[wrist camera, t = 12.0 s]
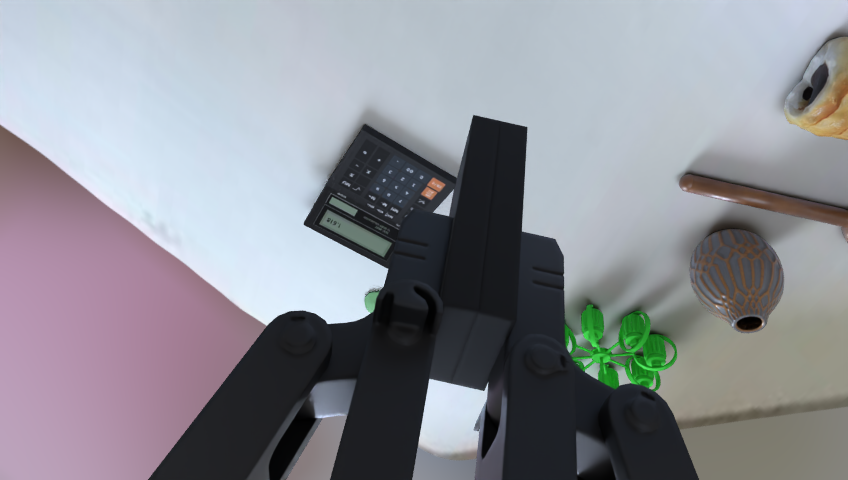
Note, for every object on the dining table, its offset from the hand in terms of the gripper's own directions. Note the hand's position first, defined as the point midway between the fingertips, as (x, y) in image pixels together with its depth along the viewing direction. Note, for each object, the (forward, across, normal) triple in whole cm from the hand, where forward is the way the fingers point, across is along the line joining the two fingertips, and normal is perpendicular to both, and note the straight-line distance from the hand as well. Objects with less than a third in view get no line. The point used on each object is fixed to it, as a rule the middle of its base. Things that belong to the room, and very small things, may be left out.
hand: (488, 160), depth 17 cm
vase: (+27, +25, -23) cm, 43 cm away
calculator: (+27, -6, -26) cm, 38 cm away
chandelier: (+27, +20, -40) cm, 52 cm away
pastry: (+27, +25, -6) cm, 37 cm away
